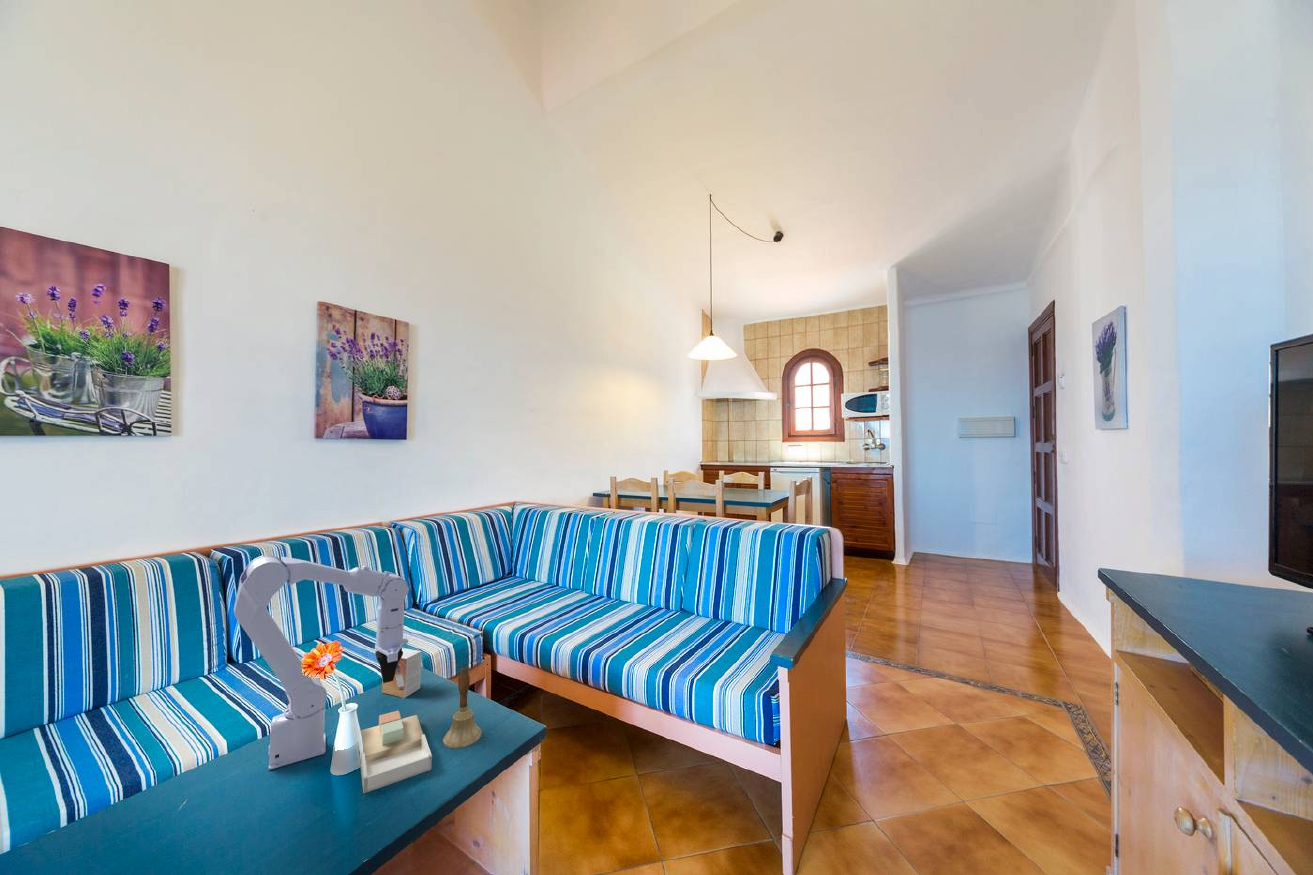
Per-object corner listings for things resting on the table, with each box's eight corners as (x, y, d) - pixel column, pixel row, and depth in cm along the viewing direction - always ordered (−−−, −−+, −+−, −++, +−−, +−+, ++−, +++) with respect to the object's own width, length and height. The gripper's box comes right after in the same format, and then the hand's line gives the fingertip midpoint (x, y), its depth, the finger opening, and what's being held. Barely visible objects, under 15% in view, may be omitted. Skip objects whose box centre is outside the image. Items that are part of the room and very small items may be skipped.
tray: (363, 793, 88) (363, 778, 88) (360, 767, 95) (361, 753, 95) (431, 769, 95) (432, 755, 95) (424, 746, 102) (424, 734, 102)
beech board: (360, 767, 95) (361, 757, 95) (357, 740, 104) (358, 731, 104) (424, 746, 102) (424, 737, 102) (416, 723, 111) (416, 714, 111)
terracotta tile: (380, 735, 103) (380, 723, 103) (378, 726, 106) (379, 715, 106) (400, 729, 105) (400, 718, 105) (398, 720, 109) (398, 710, 109)
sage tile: (382, 745, 99) (382, 733, 99) (380, 736, 103) (381, 724, 103) (403, 739, 102) (403, 727, 102) (400, 730, 105) (401, 719, 105)
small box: (381, 693, 124) (383, 654, 125) (398, 683, 130) (400, 646, 130) (404, 698, 122) (406, 658, 123) (420, 688, 127) (422, 650, 128)
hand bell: (449, 753, 100) (452, 679, 101) (438, 735, 107) (441, 666, 107) (486, 739, 106) (489, 669, 106) (474, 722, 112) (477, 656, 113)
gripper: (413, 630, 109) (410, 688, 108) (404, 613, 121) (402, 665, 120) (378, 637, 105) (375, 697, 104) (373, 618, 116) (370, 672, 116)
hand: (387, 680), depth 112 cm, fingers closed
